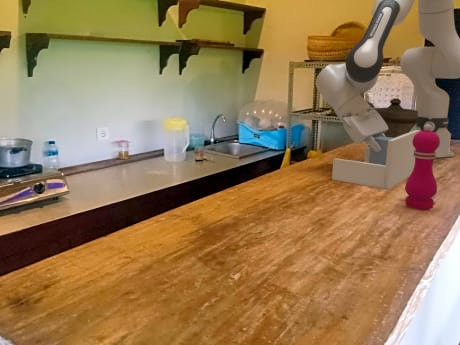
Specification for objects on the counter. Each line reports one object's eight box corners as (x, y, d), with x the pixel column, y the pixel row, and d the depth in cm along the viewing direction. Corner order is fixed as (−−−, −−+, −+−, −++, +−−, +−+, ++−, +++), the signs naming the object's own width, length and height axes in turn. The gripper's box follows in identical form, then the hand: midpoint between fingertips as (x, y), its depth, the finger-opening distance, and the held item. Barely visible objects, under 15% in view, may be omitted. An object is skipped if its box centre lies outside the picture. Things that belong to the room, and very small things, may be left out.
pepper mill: (401, 207, 115) (409, 124, 110) (405, 199, 121) (413, 121, 116) (433, 212, 112) (443, 127, 107) (436, 204, 118) (446, 123, 113)
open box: (364, 167, 156) (368, 125, 152) (415, 175, 146) (420, 130, 143) (331, 182, 137) (334, 134, 133) (387, 192, 127) (392, 140, 124)
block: (374, 165, 143) (377, 136, 141) (391, 168, 140) (394, 137, 138) (368, 168, 139) (371, 138, 137) (385, 171, 136) (388, 140, 134)
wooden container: (419, 168, 156) (426, 100, 151) (373, 167, 157) (379, 99, 151) (403, 158, 171) (410, 96, 165) (362, 158, 171) (367, 96, 166)
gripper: (347, 108, 132) (379, 147, 128) (374, 102, 147) (403, 137, 144) (331, 122, 135) (361, 161, 132) (359, 116, 151) (387, 150, 148)
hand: (383, 148), depth 138 cm, fingers closed on block, 5 cm apart
